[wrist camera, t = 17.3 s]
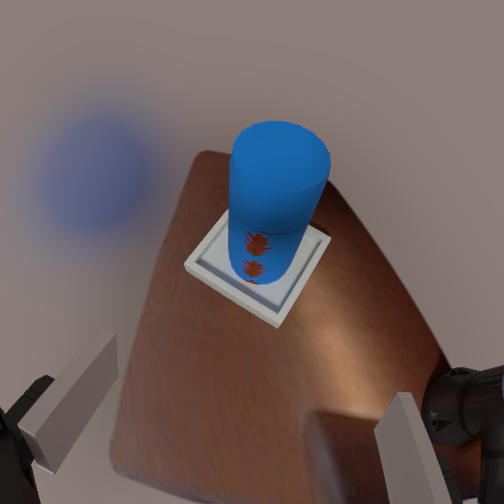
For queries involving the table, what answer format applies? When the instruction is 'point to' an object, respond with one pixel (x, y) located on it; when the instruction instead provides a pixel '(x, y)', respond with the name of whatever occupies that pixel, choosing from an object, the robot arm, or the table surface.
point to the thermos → (272, 197)
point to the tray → (247, 294)
